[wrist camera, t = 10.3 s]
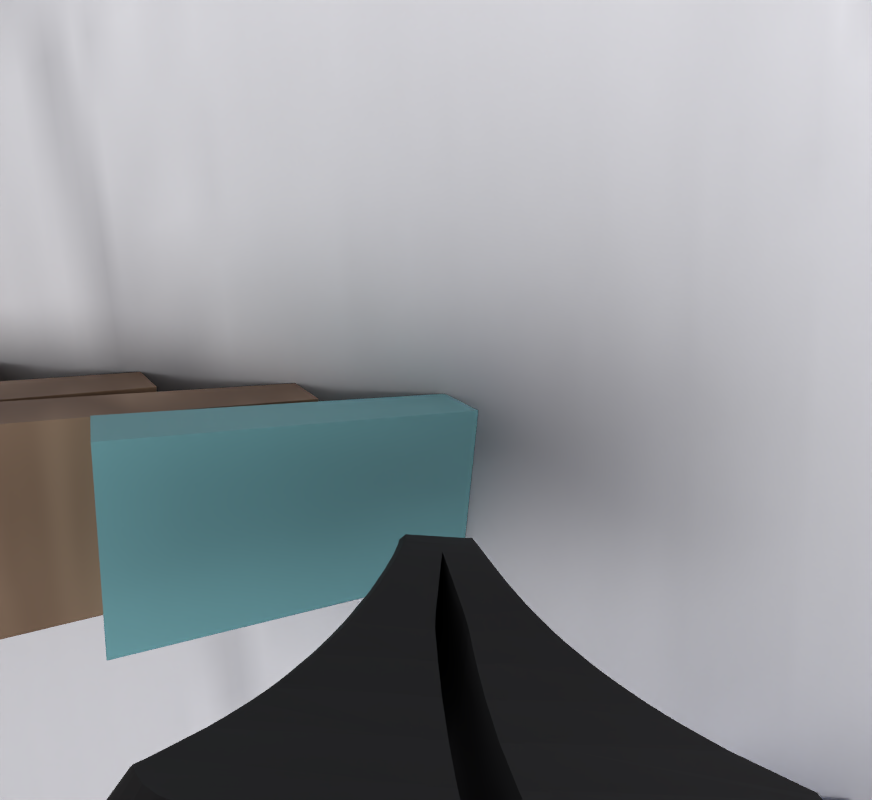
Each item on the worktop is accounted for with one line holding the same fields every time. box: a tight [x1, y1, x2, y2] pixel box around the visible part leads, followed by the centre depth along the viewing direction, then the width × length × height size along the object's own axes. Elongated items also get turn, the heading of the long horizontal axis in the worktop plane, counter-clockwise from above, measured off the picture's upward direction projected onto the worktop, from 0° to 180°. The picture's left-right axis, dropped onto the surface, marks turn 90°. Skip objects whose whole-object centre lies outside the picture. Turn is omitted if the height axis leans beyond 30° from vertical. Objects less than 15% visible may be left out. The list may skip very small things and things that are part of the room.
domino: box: [0, 383, 319, 639], centre depth 13 cm, size 2×4×8 cm
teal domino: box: [90, 394, 478, 660], centre depth 13 cm, size 2×4×8 cm
